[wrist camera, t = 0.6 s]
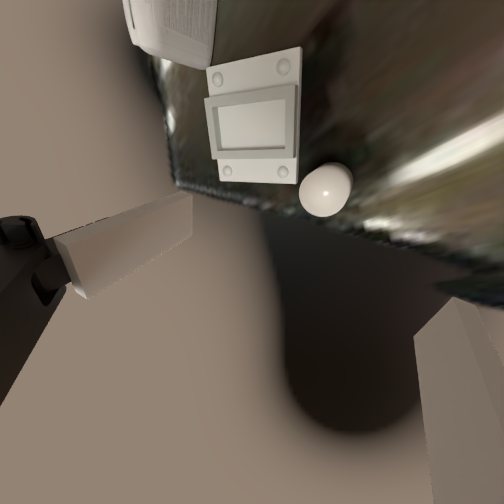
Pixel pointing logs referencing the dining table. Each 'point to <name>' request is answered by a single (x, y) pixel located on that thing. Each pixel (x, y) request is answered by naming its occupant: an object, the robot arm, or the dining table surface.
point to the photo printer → (173, 29)
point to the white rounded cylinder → (326, 189)
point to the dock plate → (256, 117)
